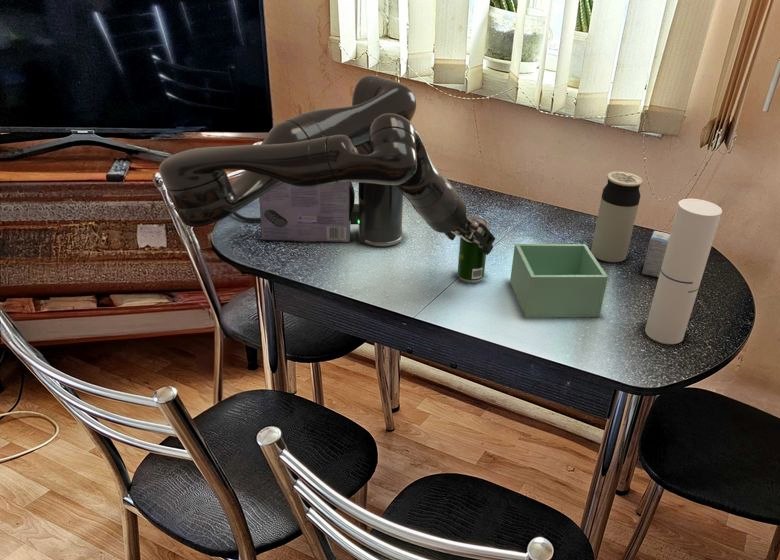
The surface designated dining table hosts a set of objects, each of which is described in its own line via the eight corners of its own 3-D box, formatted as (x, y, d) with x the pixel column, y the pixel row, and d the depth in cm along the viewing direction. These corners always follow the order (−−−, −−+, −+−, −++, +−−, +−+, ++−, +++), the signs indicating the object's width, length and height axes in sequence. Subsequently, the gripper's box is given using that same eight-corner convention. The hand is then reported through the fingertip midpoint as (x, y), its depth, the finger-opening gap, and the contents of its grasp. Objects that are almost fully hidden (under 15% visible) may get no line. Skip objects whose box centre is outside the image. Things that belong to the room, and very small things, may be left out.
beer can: (489, 279, 138) (495, 224, 131) (468, 286, 135) (473, 230, 128) (472, 268, 141) (477, 214, 134) (451, 274, 138) (455, 219, 131)
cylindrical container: (640, 322, 129) (673, 197, 115) (676, 323, 130) (713, 199, 116) (651, 343, 123) (686, 214, 109) (688, 344, 124) (728, 216, 110)
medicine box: (680, 274, 148) (690, 237, 143) (678, 283, 144) (688, 246, 140) (644, 265, 150) (653, 229, 145) (641, 274, 146) (650, 237, 141)
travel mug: (604, 265, 148) (621, 186, 138) (583, 249, 154) (598, 172, 144) (633, 260, 151) (651, 182, 141) (612, 245, 157) (628, 169, 147)
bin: (525, 318, 127) (531, 277, 122) (509, 282, 137) (514, 243, 133) (599, 316, 130) (608, 276, 125) (578, 282, 140) (585, 244, 136)
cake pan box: (355, 233, 149) (354, 153, 140) (355, 243, 145) (354, 162, 136) (263, 231, 146) (256, 149, 136) (261, 241, 142) (253, 158, 132)
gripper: (396, 208, 121) (433, 247, 136) (458, 233, 115) (491, 272, 129) (416, 172, 122) (452, 215, 136) (480, 196, 116) (510, 238, 130)
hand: (471, 243), depth 133 cm, fingers open, 8 cm apart
